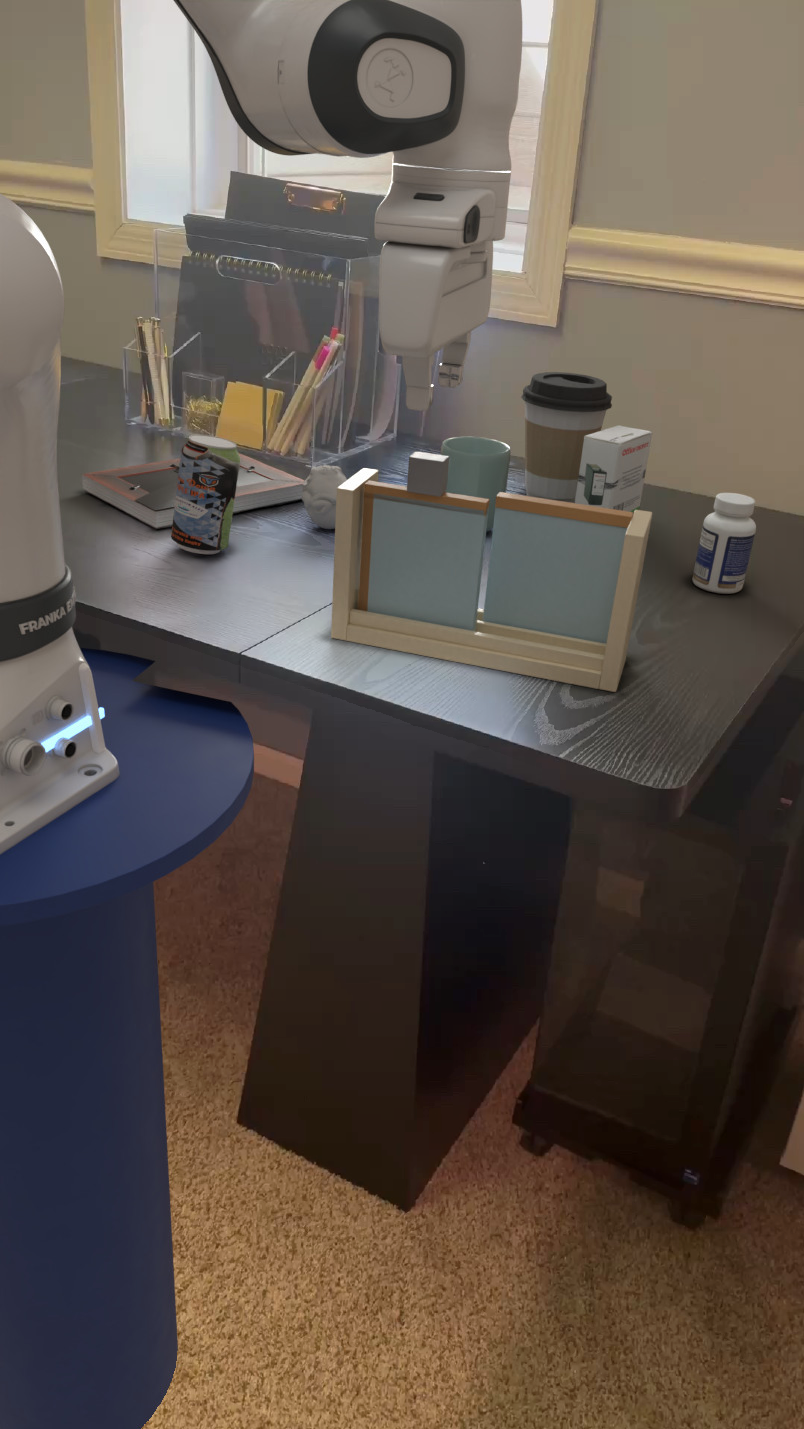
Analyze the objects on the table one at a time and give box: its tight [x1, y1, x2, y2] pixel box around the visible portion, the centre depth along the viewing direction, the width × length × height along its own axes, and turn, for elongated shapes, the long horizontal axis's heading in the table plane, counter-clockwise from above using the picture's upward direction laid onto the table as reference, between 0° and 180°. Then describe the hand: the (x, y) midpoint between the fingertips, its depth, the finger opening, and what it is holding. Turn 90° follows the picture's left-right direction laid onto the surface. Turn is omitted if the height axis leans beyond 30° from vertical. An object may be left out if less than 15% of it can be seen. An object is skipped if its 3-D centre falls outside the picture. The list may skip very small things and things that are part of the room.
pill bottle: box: [691, 492, 757, 595], centre depth 115 cm, size 5×5×10 cm
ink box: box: [575, 424, 653, 514], centre depth 129 cm, size 9×5×12 cm, turn 142°
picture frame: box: [81, 452, 306, 530], centre depth 132 cm, size 16×2×22 cm
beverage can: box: [170, 434, 240, 555], centre depth 114 cm, size 6×7×12 cm
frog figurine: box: [301, 464, 348, 530], centre depth 124 cm, size 6×7×7 cm
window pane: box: [358, 451, 490, 631], centre depth 95 cm, size 2×11×16 cm, turn 73°
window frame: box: [330, 467, 653, 693], centre depth 96 cm, size 7×26×14 cm, turn 73°
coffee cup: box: [520, 371, 613, 503], centre depth 138 cm, size 11×11×15 cm
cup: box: [439, 436, 511, 533], centre depth 126 cm, size 8×8×10 cm
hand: (435, 396), depth 89 cm, fingers open, 8 cm apart
